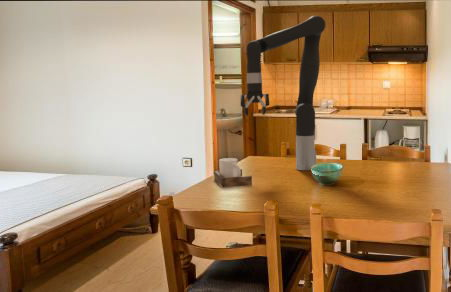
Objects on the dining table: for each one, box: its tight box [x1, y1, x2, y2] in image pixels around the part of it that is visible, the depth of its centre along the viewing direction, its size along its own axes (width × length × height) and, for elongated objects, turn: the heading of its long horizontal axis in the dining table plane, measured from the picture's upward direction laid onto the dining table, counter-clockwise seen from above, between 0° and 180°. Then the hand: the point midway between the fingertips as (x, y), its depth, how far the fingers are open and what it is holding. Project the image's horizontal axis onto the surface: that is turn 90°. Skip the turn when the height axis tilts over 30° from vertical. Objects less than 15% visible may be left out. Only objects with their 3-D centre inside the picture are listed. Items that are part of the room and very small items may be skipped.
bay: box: [213, 168, 253, 188], centre depth 230 cm, size 13×17×4 cm
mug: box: [218, 157, 241, 178], centre depth 229 cm, size 12×8×10 cm
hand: (255, 115), depth 252 cm, fingers open, 8 cm apart
